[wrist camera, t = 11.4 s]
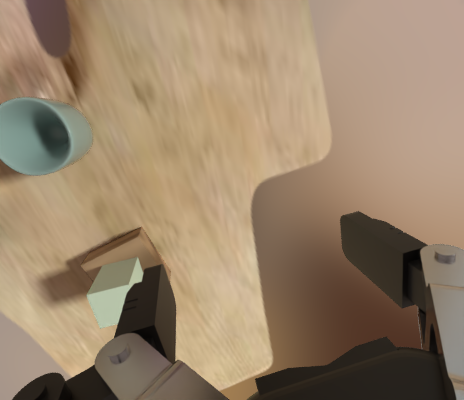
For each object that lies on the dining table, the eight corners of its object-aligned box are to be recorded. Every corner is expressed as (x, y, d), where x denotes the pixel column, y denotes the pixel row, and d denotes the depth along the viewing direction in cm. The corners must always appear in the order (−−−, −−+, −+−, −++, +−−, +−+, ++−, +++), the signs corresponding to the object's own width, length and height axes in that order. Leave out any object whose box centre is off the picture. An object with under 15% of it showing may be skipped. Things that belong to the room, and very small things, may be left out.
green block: (102, 265, 40) (86, 295, 33) (137, 256, 40) (128, 284, 34) (113, 294, 41) (100, 328, 35) (147, 286, 42) (140, 317, 35)
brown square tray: (89, 252, 43) (80, 265, 39) (142, 225, 43) (138, 236, 39) (121, 295, 46) (116, 311, 42) (170, 270, 46) (169, 284, 42)
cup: (82, 92, 36) (47, 84, 27) (110, 149, 39) (87, 160, 29) (24, 113, 36) (-33, 112, 26) (56, 169, 38) (15, 187, 29)
